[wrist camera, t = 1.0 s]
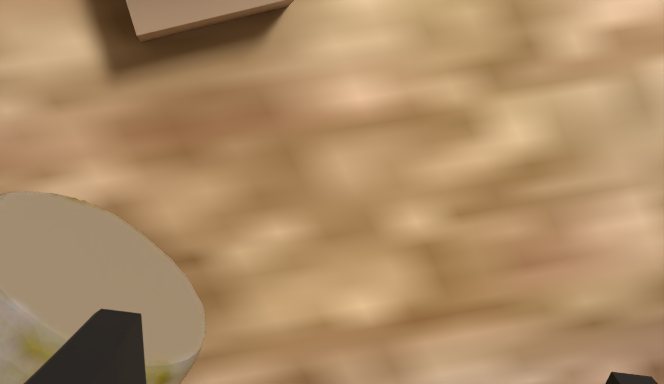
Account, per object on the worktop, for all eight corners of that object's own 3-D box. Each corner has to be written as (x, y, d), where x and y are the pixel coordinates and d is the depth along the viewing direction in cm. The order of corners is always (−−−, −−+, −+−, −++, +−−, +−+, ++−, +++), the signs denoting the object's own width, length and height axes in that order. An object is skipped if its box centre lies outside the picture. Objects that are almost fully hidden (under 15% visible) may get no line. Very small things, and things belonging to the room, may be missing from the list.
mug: (-160, 437, 20) (-355, 405, 11) (75, 227, 25) (64, 94, 16) (20, 591, 20) (-38, 676, 11) (220, 349, 25) (285, 280, 16)
